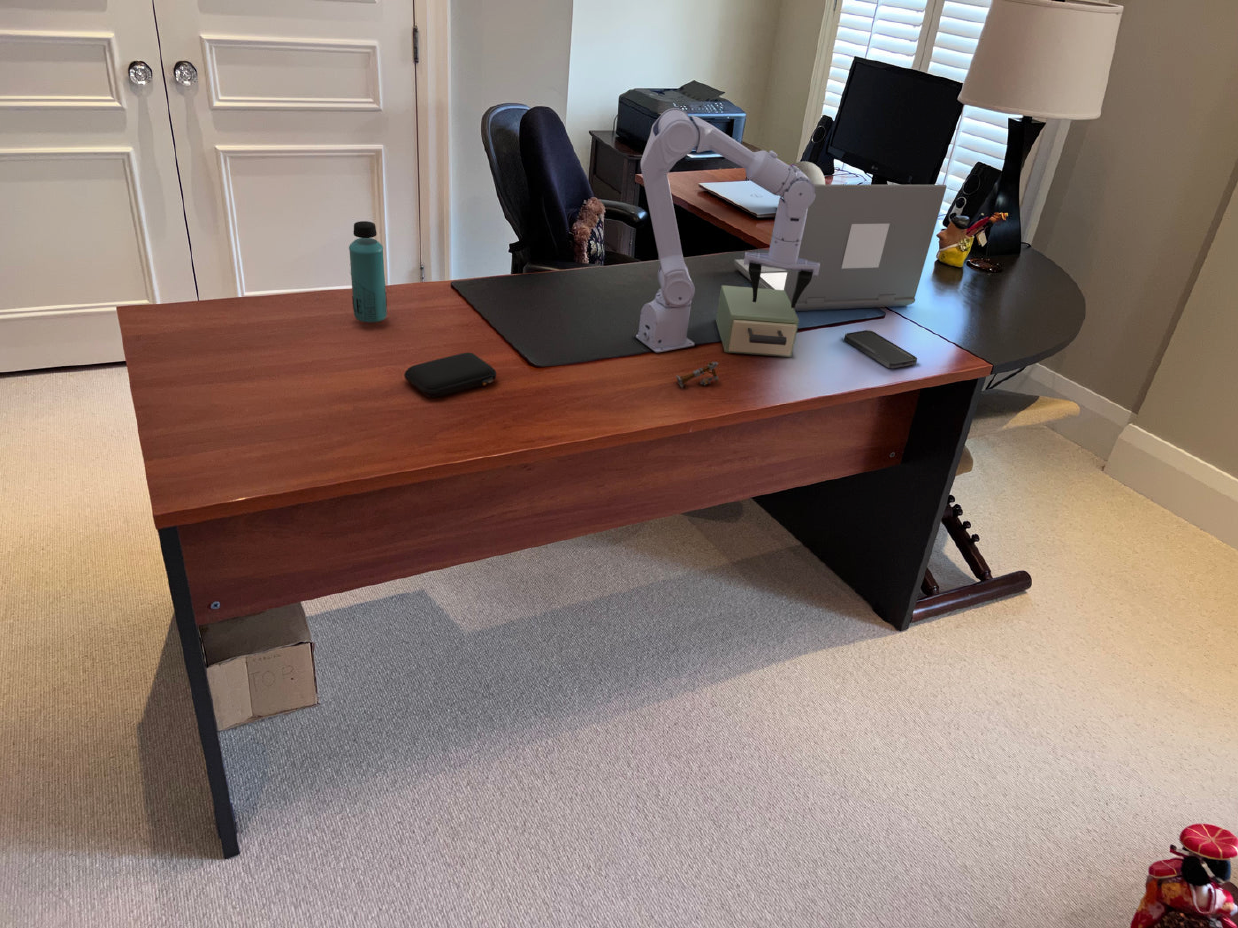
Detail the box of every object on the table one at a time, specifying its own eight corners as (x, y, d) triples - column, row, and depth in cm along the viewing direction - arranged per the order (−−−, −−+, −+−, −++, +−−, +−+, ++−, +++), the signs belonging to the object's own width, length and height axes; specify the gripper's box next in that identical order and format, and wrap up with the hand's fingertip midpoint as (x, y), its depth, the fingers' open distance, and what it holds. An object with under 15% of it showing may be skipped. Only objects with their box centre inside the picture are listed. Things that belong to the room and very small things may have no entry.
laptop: (855, 266, 233) (883, 153, 218) (913, 307, 212) (948, 186, 197) (732, 269, 222) (752, 151, 207) (781, 313, 202) (807, 186, 186)
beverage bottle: (394, 321, 179) (390, 222, 169) (373, 333, 174) (367, 231, 163) (367, 313, 181) (362, 215, 171) (346, 324, 176) (338, 223, 165)
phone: (870, 329, 195) (919, 359, 185) (868, 334, 196) (918, 364, 185) (842, 334, 192) (891, 364, 181) (841, 339, 192) (889, 369, 182)
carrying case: (431, 406, 152) (504, 386, 161) (430, 390, 151) (504, 370, 159) (400, 380, 159) (472, 362, 168) (399, 365, 157) (472, 347, 166)
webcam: (770, 205, 273) (780, 155, 265) (811, 208, 275) (822, 158, 266) (781, 219, 262) (791, 167, 254) (823, 222, 264) (835, 170, 256)
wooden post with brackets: (724, 381, 169) (718, 361, 166) (685, 398, 168) (679, 379, 166) (720, 376, 170) (715, 357, 167) (682, 393, 170) (675, 374, 167)
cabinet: (791, 357, 183) (799, 320, 178) (724, 352, 182) (731, 315, 177) (777, 325, 196) (784, 290, 191) (715, 320, 195) (721, 285, 190)
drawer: (795, 366, 177) (801, 337, 174) (732, 362, 176) (737, 332, 173) (777, 325, 193) (783, 298, 190) (720, 321, 192) (724, 293, 189)
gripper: (824, 236, 176) (809, 301, 183) (750, 225, 177) (738, 290, 185) (825, 247, 170) (810, 314, 177) (748, 236, 171) (736, 303, 179)
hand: (773, 303), depth 181 cm, fingers open, 7 cm apart
